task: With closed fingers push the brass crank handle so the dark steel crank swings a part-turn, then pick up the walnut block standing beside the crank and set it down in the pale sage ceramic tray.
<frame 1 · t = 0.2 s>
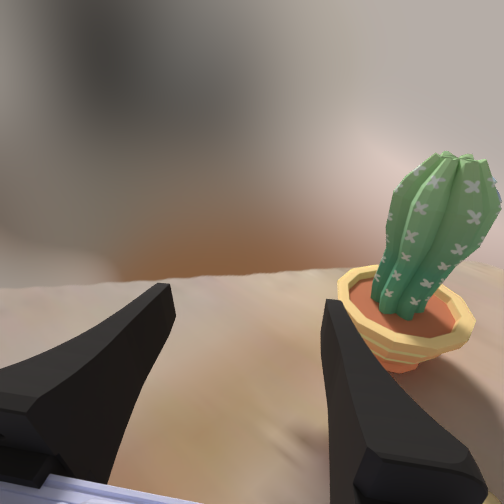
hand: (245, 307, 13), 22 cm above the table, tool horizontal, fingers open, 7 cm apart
potted cactus: (384, 345, 40), on the table
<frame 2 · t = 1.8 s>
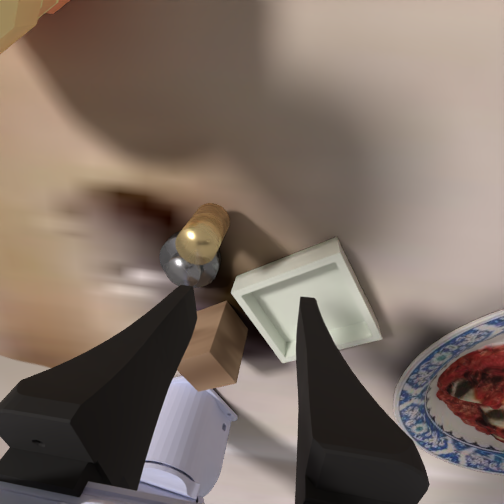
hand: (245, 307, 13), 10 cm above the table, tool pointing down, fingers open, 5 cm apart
tray: (306, 297, 26), on the table
crank: (190, 258, 21), point 4 cm above the table, hinge at 0.0°
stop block: (221, 320, 29), on the table
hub: (193, 256, 25), on the table
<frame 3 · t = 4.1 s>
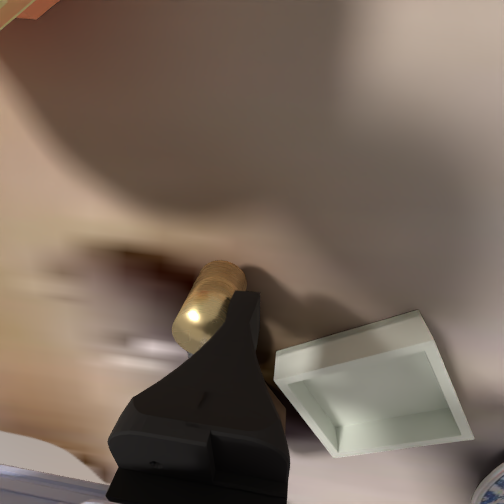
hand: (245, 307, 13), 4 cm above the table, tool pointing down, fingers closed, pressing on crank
tray: (367, 377, 20), on the table
crank: (209, 341, 15), point 4 cm above the table, hinge at 20.9°, touching gripper
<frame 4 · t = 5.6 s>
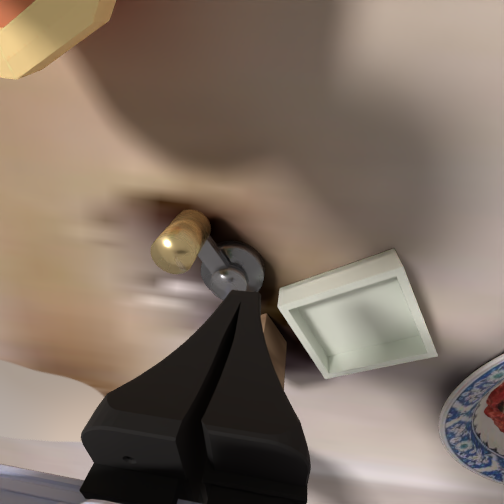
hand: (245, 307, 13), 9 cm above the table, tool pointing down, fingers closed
tray: (353, 311, 24), on the table
crank: (205, 269, 20), point 3 cm above the table, hinge at 60.8°
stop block: (258, 333, 28), on the table
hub: (234, 267, 24), on the table
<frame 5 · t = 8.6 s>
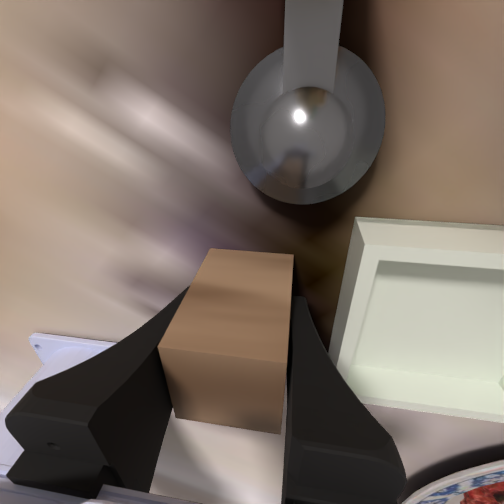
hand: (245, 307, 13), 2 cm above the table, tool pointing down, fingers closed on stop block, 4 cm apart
tray: (437, 310, 14), on the table
crank: (312, 34, 6), point 3 cm above the table, hinge at 60.8°
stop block: (251, 284, 15), on the table, touching gripper
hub: (304, 127, 11), on the table
when the fingers open (3 cm above the table, at t = 11.7 s): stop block stays where it is, resting on tray.
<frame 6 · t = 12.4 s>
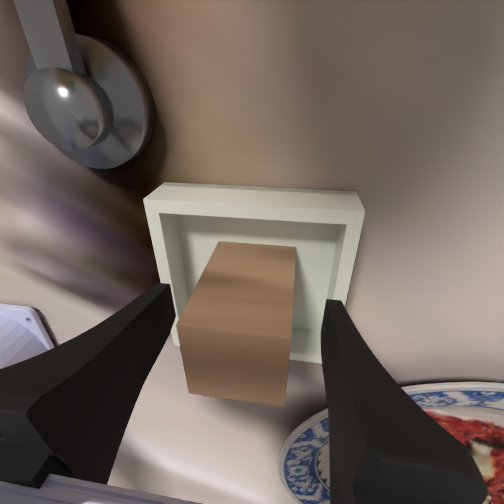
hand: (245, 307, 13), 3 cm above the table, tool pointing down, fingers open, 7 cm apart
tray: (256, 266, 16), on the table
crank: (9, 26, 9), point 4 cm above the table, hinge at 60.8°
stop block: (256, 275, 16), resting on tray
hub: (101, 105, 13), on the table
ceramic plate: (435, 457, 24), on the table
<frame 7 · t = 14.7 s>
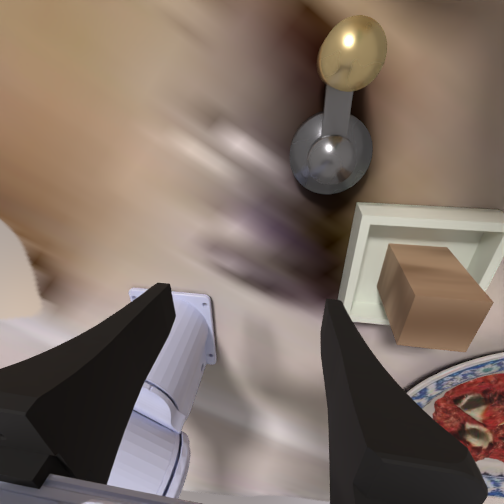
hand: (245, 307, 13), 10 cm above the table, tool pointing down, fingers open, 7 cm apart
tray: (407, 261, 22), on the table
crank: (339, 117, 15), point 4 cm above the table, hinge at 60.8°
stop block: (409, 267, 22), resting on tray
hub: (328, 151, 19), on the table
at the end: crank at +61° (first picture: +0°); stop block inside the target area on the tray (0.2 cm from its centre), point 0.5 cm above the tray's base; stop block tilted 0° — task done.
